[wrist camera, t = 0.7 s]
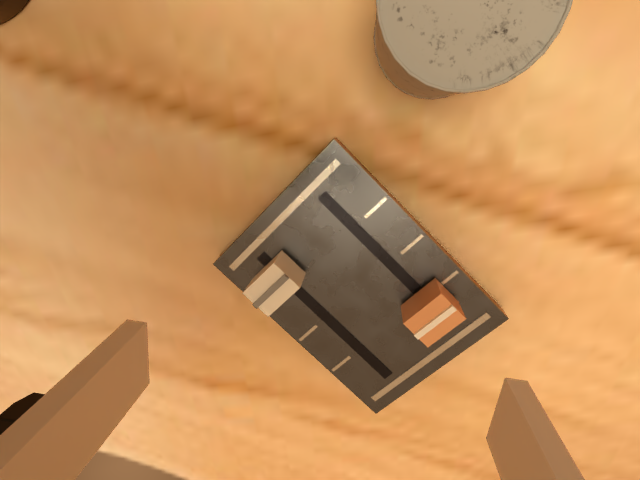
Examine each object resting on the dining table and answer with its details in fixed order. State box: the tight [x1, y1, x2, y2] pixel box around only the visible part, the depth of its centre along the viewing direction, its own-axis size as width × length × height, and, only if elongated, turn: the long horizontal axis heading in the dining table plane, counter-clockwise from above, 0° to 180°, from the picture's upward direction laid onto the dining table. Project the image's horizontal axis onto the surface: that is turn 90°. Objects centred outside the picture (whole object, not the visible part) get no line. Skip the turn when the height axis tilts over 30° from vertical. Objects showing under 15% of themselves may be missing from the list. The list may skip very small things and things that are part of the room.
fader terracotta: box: [401, 278, 466, 347], centre depth 34 cm, size 3×4×4 cm
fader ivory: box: [243, 250, 306, 317], centre depth 35 cm, size 3×4×4 cm
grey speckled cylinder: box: [374, 0, 573, 99], centre depth 26 cm, size 10×10×12 cm
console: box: [213, 138, 508, 413], centre depth 38 cm, size 22×16×2 cm
